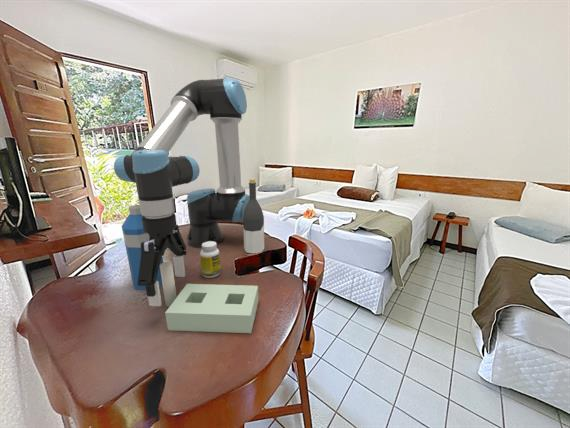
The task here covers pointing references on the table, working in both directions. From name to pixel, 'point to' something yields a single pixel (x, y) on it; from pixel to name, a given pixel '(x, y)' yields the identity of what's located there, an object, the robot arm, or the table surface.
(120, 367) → the table surface
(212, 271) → the pill bottle
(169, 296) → the dowel
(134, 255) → the water bottle
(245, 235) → the wine bottle
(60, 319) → the table surface
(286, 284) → the table surface
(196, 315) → the socket block
